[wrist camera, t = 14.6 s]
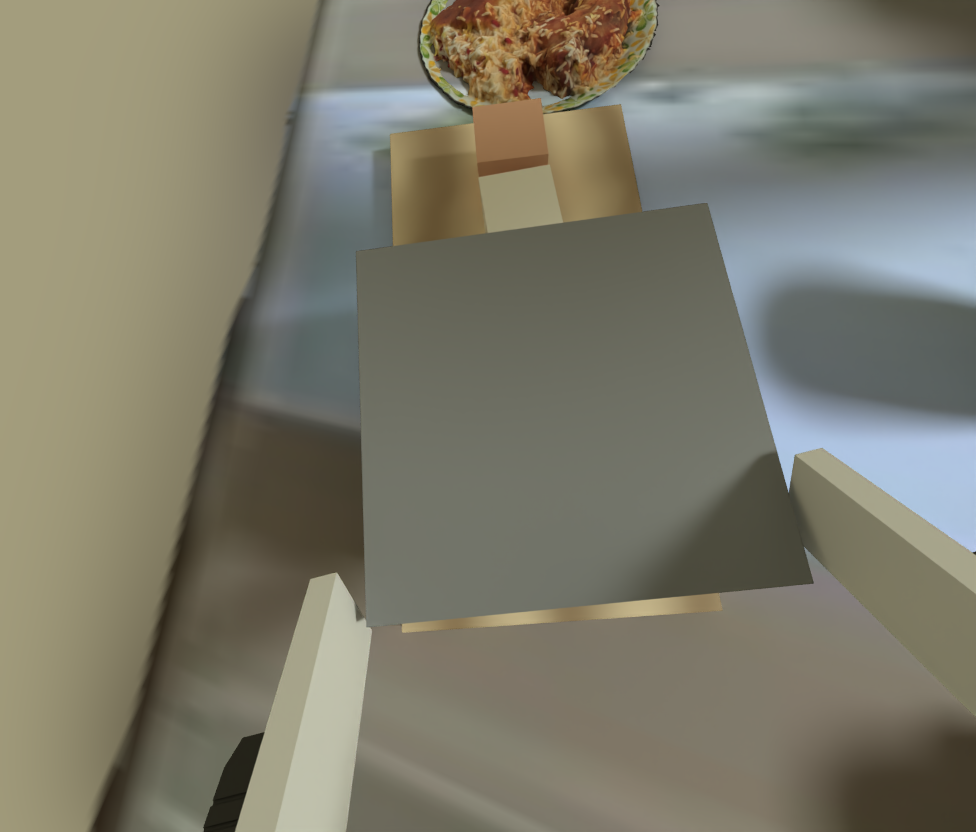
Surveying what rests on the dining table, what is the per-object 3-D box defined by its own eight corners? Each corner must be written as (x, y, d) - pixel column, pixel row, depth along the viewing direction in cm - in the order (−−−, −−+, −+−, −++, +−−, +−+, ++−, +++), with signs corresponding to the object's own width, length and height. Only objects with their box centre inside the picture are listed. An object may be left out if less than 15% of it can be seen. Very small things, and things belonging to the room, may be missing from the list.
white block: (545, 215, 28) (549, 164, 24) (557, 269, 27) (563, 225, 23) (484, 226, 28) (478, 177, 24) (493, 280, 27) (488, 238, 23)
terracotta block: (538, 155, 29) (540, 98, 25) (544, 205, 28) (548, 153, 24) (478, 162, 29) (472, 106, 25) (483, 212, 28) (477, 162, 24)
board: (616, 124, 31) (620, 104, 30) (709, 605, 23) (722, 610, 21) (396, 151, 32) (390, 134, 30) (409, 626, 24) (402, 632, 22)
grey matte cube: (628, 341, 25) (707, 203, 14) (671, 557, 22) (813, 583, 11) (424, 366, 26) (355, 251, 15) (439, 580, 23) (366, 627, 12)
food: (448, 155, 32) (440, 117, 29) (403, -1, 37) (393, -47, 34) (687, 87, 32) (703, 42, 29) (610, -62, 36) (617, -114, 34)
